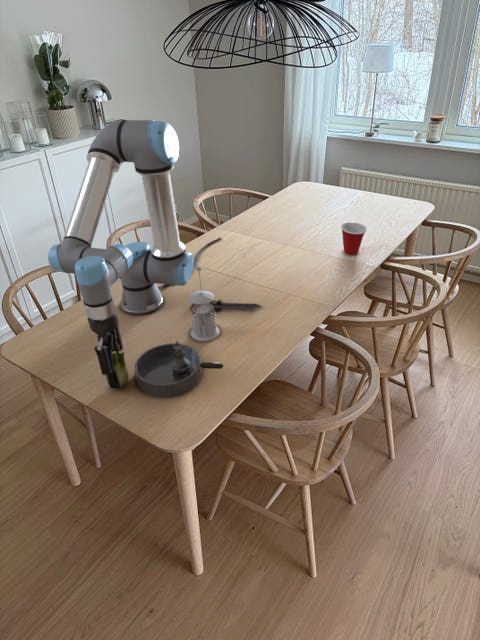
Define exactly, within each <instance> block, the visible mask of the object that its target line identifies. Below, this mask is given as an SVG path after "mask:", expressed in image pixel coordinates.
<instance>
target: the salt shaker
mask: <svg viewBox="0 0 480 640" xmlns="http://www.w3.org/2000/svg"><path fill="white" fill-rule="evenodd" d="M173 344H174V345H173V352H174V353H173V357H174V360H173V361H172V362H171V364H170V366H171V368H172V370H173V371H174V372H173V377H174V378H176V379H184V378H186V377H188V376H189V375H190V373H191V372H190V370H189V367H190V361H189V360H188V359H186V358H185V356H184V355H185V352H184V351H183V345H184V344H183V343H182V342H179V341H178V340H176V342H174V343H173Z"/></svg>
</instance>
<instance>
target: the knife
mask: <svg viewBox="0 0 480 640" xmlns="http://www.w3.org/2000/svg"><path fill="white" fill-rule="evenodd" d="M210 304H212V305H213V307H214V310H215V311H216V313H218V312H220V311H221V310H222V309H224V310H254V309H257V308H259V307H260V308H262V307H263V306H262V305H260V304H257V303H244V302H243V303H242V302H241V303H240V302H238V303H237V302H223V300H221V299H218V301H217V300H213V301H211V302H210ZM194 305H195V304H192V307H193V306H194ZM192 307H191V308H192Z"/></svg>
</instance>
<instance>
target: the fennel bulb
mask: <svg viewBox="0 0 480 640" xmlns="http://www.w3.org/2000/svg"><path fill="white" fill-rule="evenodd" d="M123 352H124V351H123V350H121V351H119V358H120V362H119V359H118V356H117V352H116V351H113V352H112V354H113V359H114V362H115V364H114V369H116V371H117V375H118V380H119V384H120V388H119V389H121V388H124V387H125V386H126V385H127V384H128V382H129V370H128V366H127V364H126V360H125V353H124V354H123ZM105 380H106V382H107V384H108V385H109V381H108V378H107V375H105Z"/></svg>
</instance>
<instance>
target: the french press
mask: <svg viewBox="0 0 480 640" xmlns="http://www.w3.org/2000/svg"><path fill="white" fill-rule="evenodd" d="M202 270H203V268H202V266H201V265H197V266H196V267H195V271H197V272H198V276H199V279H201V271H202ZM199 286H200V289H202V281H201V280H199ZM214 299H215V294H214V293H212V292H211V291H207V290H198V291H194V292H193V293H192V294H190V296H189V297H188V301H189V302H190V303H191V304H192V306H193V304H195V305H194V306H193V307H191V312H190V315H191V322H192V323H191V324H192V329H191V331H190V337H191V338H192V339H193V340H196V341H199V342H208V341H212V340H214V339H217V337H219V335H220V328H219V327H217V317H216V309H215V310H214V308H215V307H213V306H214V305H212V304H210V302H211V301H214Z"/></svg>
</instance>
